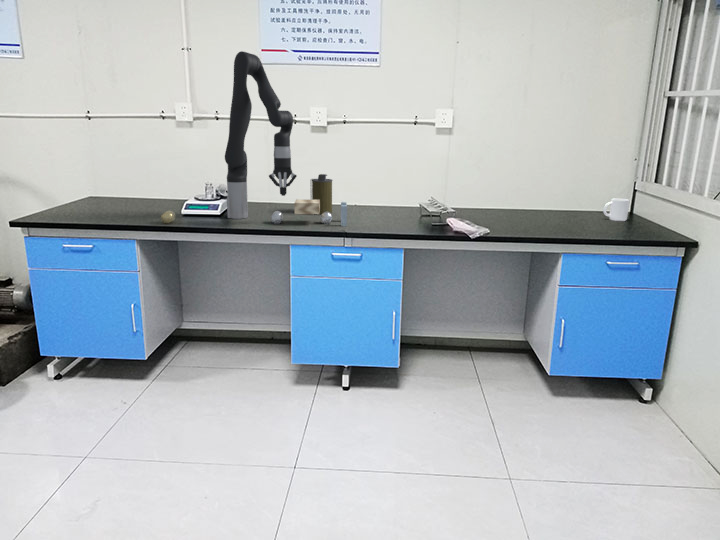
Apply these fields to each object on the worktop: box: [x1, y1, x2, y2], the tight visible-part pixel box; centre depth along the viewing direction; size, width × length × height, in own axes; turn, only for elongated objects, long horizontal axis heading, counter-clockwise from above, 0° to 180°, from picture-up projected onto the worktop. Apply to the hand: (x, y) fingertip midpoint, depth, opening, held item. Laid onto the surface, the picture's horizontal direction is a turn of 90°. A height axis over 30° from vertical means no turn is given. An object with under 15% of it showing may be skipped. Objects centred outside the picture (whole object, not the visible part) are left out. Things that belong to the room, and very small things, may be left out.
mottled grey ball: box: [320, 211, 333, 225], centre depth 257 cm, size 5×6×5 cm
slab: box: [293, 199, 320, 215], centre depth 256 cm, size 11×12×5 cm
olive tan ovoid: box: [160, 210, 176, 224], centre depth 254 cm, size 5×6×5 cm
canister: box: [311, 173, 334, 216], centre depth 280 cm, size 11×10×20 cm
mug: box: [602, 197, 630, 222], centre depth 279 cm, size 12×8×10 cm
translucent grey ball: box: [270, 210, 284, 225], centre depth 256 cm, size 5×6×5 cm
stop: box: [340, 201, 348, 227], centre depth 257 cm, size 2×14×9 cm, turn 3°
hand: (283, 195), depth 254 cm, fingers closed
